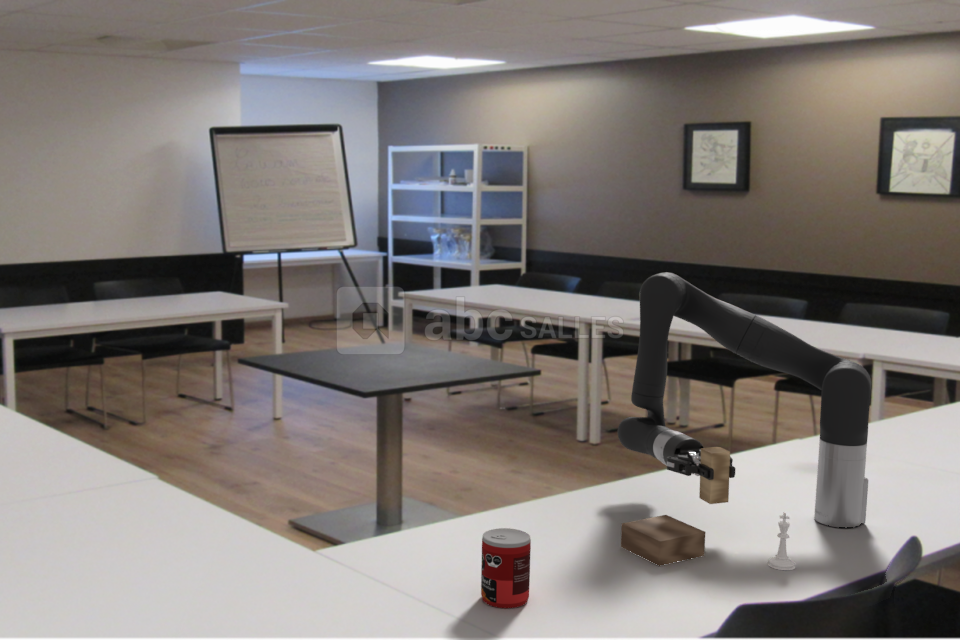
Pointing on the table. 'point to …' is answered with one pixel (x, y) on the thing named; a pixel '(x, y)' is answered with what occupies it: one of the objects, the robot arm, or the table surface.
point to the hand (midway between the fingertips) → (722, 473)
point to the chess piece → (782, 548)
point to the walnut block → (663, 539)
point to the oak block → (715, 475)
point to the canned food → (505, 567)
